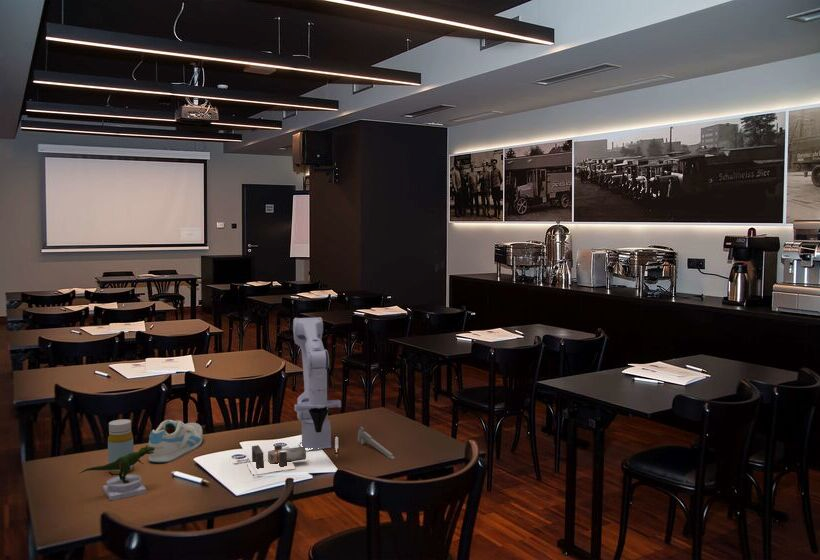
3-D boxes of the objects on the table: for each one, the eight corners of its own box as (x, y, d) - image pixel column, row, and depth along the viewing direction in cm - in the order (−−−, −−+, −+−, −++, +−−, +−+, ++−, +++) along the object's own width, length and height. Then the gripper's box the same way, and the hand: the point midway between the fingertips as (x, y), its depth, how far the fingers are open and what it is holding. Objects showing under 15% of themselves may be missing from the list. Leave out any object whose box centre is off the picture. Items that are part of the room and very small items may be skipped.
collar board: (288, 459, 214) (288, 440, 213) (295, 469, 206) (295, 449, 205) (246, 465, 209) (246, 446, 208) (252, 475, 201) (252, 455, 200)
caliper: (357, 443, 231) (357, 425, 230) (360, 443, 231) (360, 425, 231) (392, 460, 215) (392, 440, 214) (395, 459, 215) (395, 440, 215)
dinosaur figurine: (160, 490, 189) (159, 449, 189) (82, 507, 178) (80, 464, 177) (151, 480, 197) (149, 441, 196) (75, 496, 185) (73, 454, 184)
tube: (302, 457, 213) (302, 444, 213) (306, 461, 209) (306, 448, 209) (267, 462, 209) (267, 449, 208) (270, 466, 205) (270, 453, 205)
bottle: (139, 468, 206) (137, 420, 205) (122, 476, 200) (120, 426, 199) (120, 465, 209) (119, 417, 207) (103, 473, 202) (101, 424, 201)
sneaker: (211, 438, 236) (210, 408, 235) (173, 465, 209) (172, 431, 208) (183, 437, 237) (182, 407, 236) (142, 463, 211) (141, 430, 210)
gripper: (298, 394, 205) (298, 438, 206) (344, 389, 211) (344, 432, 212) (292, 389, 211) (293, 431, 212) (337, 384, 217) (337, 426, 218)
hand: (318, 431), depth 212 cm, fingers closed
